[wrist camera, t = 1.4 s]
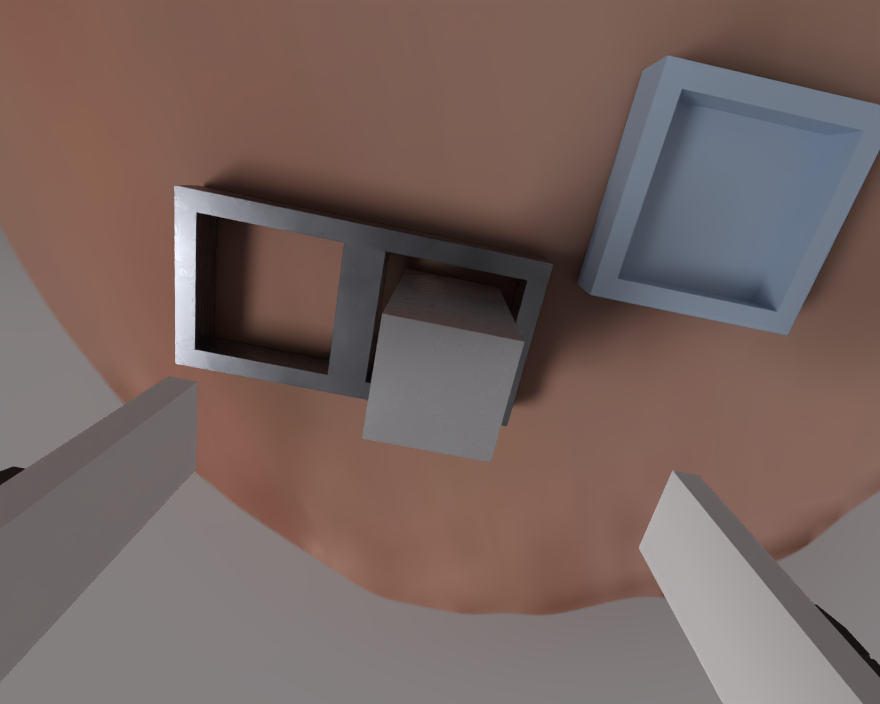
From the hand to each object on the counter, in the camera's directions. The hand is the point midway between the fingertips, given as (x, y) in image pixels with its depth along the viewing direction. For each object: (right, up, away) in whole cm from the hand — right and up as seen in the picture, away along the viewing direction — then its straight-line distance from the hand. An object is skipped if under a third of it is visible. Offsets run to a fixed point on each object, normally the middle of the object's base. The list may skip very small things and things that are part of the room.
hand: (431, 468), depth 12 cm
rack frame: (-4, +6, +12) cm, 14 cm away
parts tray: (+13, +11, +10) cm, 20 cm away
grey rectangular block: (0, +5, +12) cm, 13 cm away
